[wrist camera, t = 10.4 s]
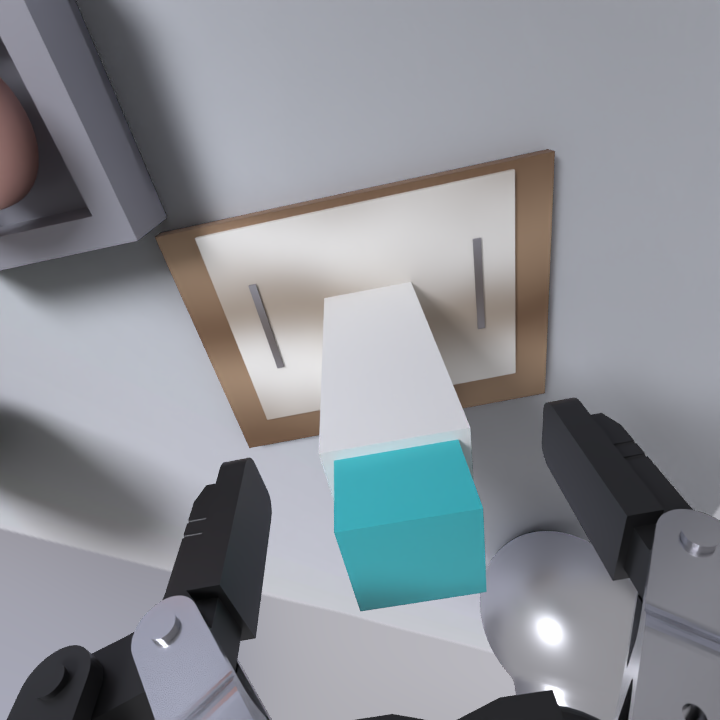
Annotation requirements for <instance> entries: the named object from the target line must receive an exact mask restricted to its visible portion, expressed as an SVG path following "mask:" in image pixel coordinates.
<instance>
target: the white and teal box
mask: <svg viewBox="0 0 720 720" xmlns="http://www.w3.org/2000/svg"><path fill="white" fill-rule="evenodd" d="M319 456H320V459H321V462H322V466H323V469H324V472H325V475H326V478H327V482H328V485H329V488H330V491H331V494H332V497H333V501H334V533H335V536H336V539H337V542H338V545H339V548H340V551H341V554H342V557H343V560H344V563H345V566H346V569H347V572H348V575H349V578H350V581H351V584H352V587H353V590H354V593H355V596H356V599H357V602H358V605H359V608H360V611H366V610H372V609H379V608H385V607H392V606H398V605H405V604H411V603H418V602H424V601H431V600H437V599H444V598H450V597H457V596H464V595H470V594H477V593H483V592H487V590H486V566H485V542H484V517H483V507H482V504H481V501H480V498H479V496H478V493H477V490H476V487H475V484H474V482H473V465H472V447H471V430H470V426H469V423H468V421H467V418H466V416H465V413H464V411H463V408H462V406H461V403H460V401H459V399H458V396H457V394H456V391H455V389H454V386H453V384H452V381H451V379H450V376H449V374H448V372H447V369H446V367H445V364H444V362H443V359H442V357H441V354H440V352H439V349H438V347H437V345H436V342H435V340H434V337H433V335H432V332H431V330H430V327H429V325H428V322H427V320H426V318H425V315H424V313H423V310H422V308H421V305H420V303H419V300H418V298H417V295H416V293H415V291H414V288H413V286H412V283H411V282H407V283H402V284H396V285H391V286H386V287H381V288H375V289H370V290H365V291H359V292H354V293H349V294H343V295H338V296H333V297H328V298H324V320H323V348H322V376H321V404H320V432H319Z"/></svg>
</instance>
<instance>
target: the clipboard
mask: <svg viewBox="0 0 720 720" xmlns="http://www.w3.org/2000/svg"><path fill="white" fill-rule="evenodd" d="M554 157H555V151H552V150H549V149H546V150H542V151H537V152H533V153H528V154H523V155H519V156H514V157H509V158H505V159H500V160H496V161H491V162H486V163H482V164H477V165H472V166H468V167H463V168H459V169H454V170H449V171H445V172H440V173H435V174H431V175H426V176H422V177H417V178H412V179H408V180H403V181H398V182H394V183H389V184H385V185H380V186H375V187H371V188H366V189H361V190H357V191H352V192H348V193H343V194H338V195H334V196H329V197H324V198H320V199H315V200H311V201H306V202H301V203H297V204H292V205H287V206H283V207H278V208H274V209H269V210H264V211H260V212H255V213H250V214H246V215H241V216H237V217H232V218H227V219H223V220H218V221H213V222H209V223H204V224H200V225H195V226H190V227H186V228H181V229H176V230H172V231H167V232H163V233H160V234H159V235H157V236H156V237H155V239H156V241H157V243H158V245H159V248H160V250H161V252H162V254H163V256H164V259H165V261H166V263H167V265H168V268H169V270H170V272H171V274H172V276H173V279H174V281H175V283H176V285H177V288H178V290H179V292H180V294H181V297H182V299H183V301H184V303H185V305H186V308H187V310H188V312H189V314H190V317H191V319H192V321H193V323H194V325H195V328H196V330H197V332H198V334H199V337H200V339H201V341H202V343H203V346H204V348H205V350H206V352H207V354H208V357H209V359H210V361H211V363H212V366H213V368H214V370H215V372H216V374H217V377H218V379H219V381H220V383H221V386H222V388H223V390H224V392H225V395H226V397H227V399H228V401H229V403H230V406H231V408H232V410H233V412H234V415H235V417H236V419H237V421H238V423H239V426H240V428H241V430H242V432H243V435H244V437H245V439H246V441H247V443H248V446H249V448H252V447H257V446H263V445H268V444H273V443H279V442H284V441H290V440H295V439H300V438H306V437H311V436H317V435H319V432H320V404H321V376H322V348H323V320H324V298H328V297H333V296H338V295H343V294H349V293H354V292H359V291H365V290H370V289H375V288H381V287H386V286H391V285H396V284H402V283H407V282H411V283H412V286H413V288H414V291H415V293H416V295H417V298H418V300H419V303H420V305H421V308H422V310H423V313H424V315H425V318H426V320H427V322H428V325H429V327H430V330H431V332H432V335H433V337H434V340H435V342H436V345H437V347H438V349H439V352H440V354H441V357H442V359H443V362H444V364H445V367H446V369H447V372H448V374H449V376H450V379H451V381H452V384H453V386H454V389H455V391H456V394H457V396H458V399H459V401H460V403H461V406H462V408H467V407H473V406H478V405H484V404H489V403H494V402H500V401H505V400H511V399H516V398H521V397H527V396H532V395H538V394H543V393H545V375H546V351H547V326H548V302H549V278H550V254H551V229H552V205H553V181H554Z"/></svg>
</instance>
